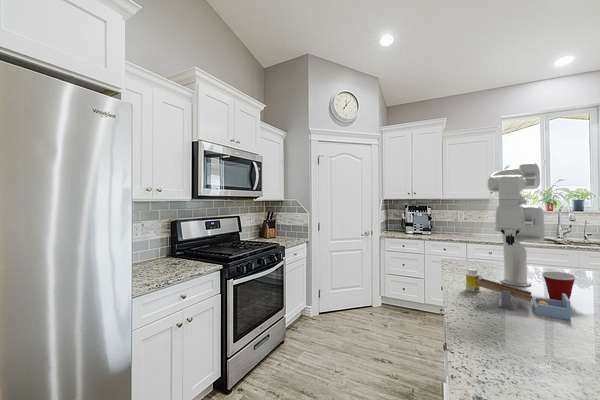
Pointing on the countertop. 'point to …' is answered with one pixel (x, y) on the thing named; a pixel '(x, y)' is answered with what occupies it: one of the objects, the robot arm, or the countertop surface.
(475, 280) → the supplement bottle
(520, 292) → the lever
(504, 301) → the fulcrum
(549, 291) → the plastic cup
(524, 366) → the countertop surface
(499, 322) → the countertop surface
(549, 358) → the countertop surface
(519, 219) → the robot arm
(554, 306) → the blue tray
